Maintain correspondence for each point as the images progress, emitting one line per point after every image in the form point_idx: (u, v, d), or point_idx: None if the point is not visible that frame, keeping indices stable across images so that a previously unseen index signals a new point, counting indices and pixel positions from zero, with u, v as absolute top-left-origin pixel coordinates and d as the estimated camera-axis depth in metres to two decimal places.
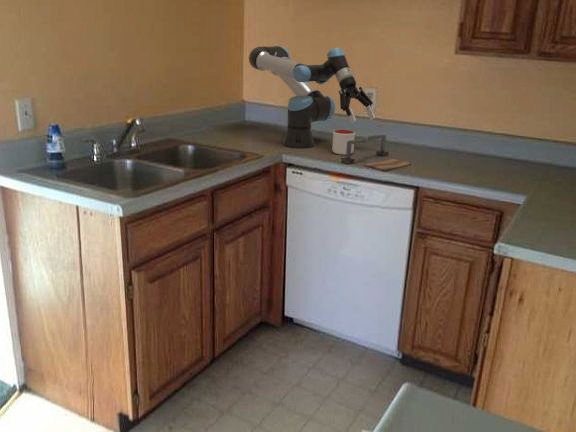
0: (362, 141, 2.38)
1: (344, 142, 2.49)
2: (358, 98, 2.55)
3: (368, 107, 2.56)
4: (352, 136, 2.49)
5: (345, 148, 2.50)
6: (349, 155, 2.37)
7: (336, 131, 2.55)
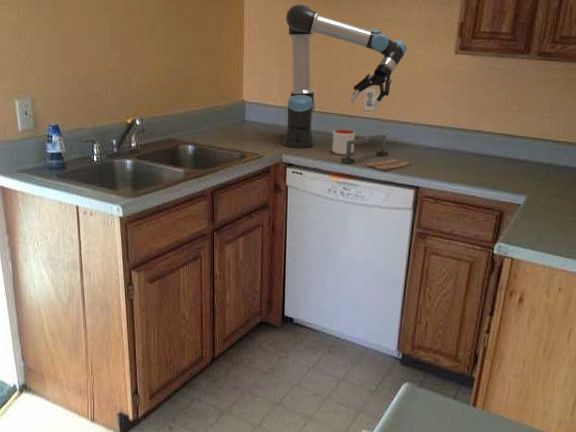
0: (362, 141, 2.38)
1: (344, 142, 2.49)
2: (368, 84, 2.59)
3: (358, 93, 2.61)
4: (352, 136, 2.49)
5: (345, 148, 2.50)
6: (349, 155, 2.37)
7: (336, 131, 2.55)
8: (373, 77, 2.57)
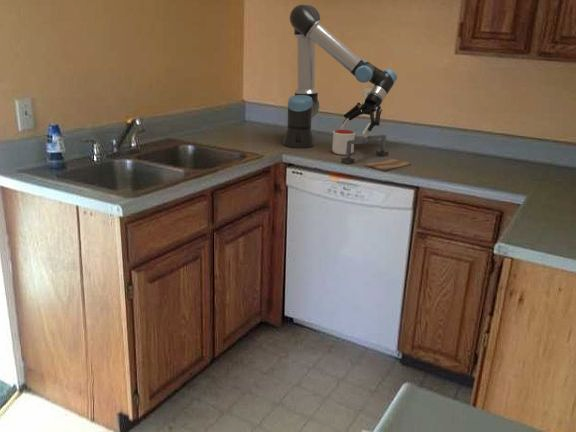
0: (362, 141, 2.38)
1: (344, 142, 2.49)
2: (358, 112, 2.59)
3: (349, 122, 2.60)
4: (352, 136, 2.49)
5: (345, 148, 2.50)
6: (349, 155, 2.37)
7: (336, 131, 2.55)
8: (363, 106, 2.57)
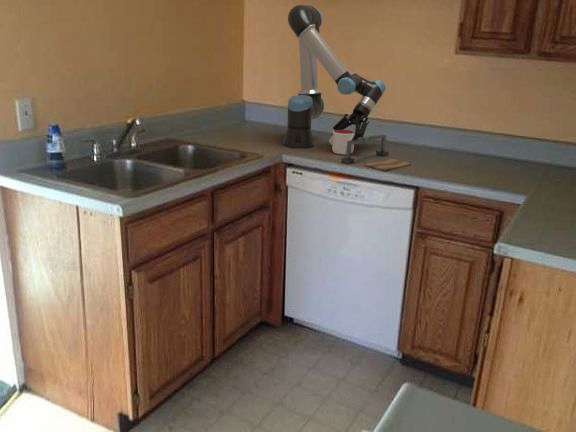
0: (362, 141, 2.38)
1: (344, 142, 2.49)
2: (347, 123, 2.56)
3: None
4: None
5: (345, 148, 2.50)
6: (349, 155, 2.37)
7: (336, 131, 2.55)
8: (352, 116, 2.55)
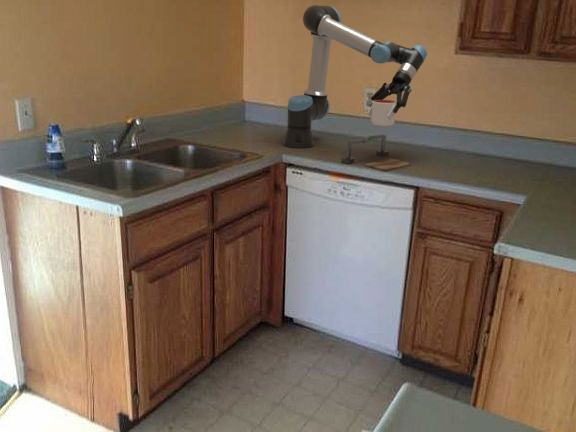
0: (362, 141, 2.38)
1: (385, 112, 2.29)
2: (387, 93, 2.37)
3: None
4: None
5: (386, 119, 2.30)
6: (349, 155, 2.37)
7: (375, 101, 2.36)
8: (391, 85, 2.35)
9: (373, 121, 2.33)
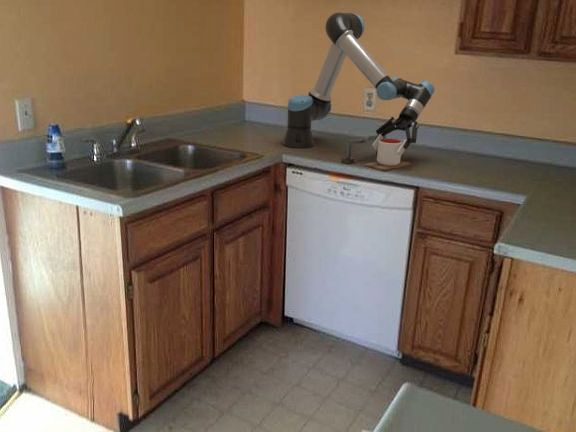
0: (362, 141, 2.38)
1: (391, 152, 2.29)
2: (392, 128, 2.37)
3: (381, 138, 2.38)
4: None
5: (392, 159, 2.30)
6: (349, 155, 2.37)
7: (381, 140, 2.36)
8: (398, 121, 2.35)
9: (379, 160, 2.33)
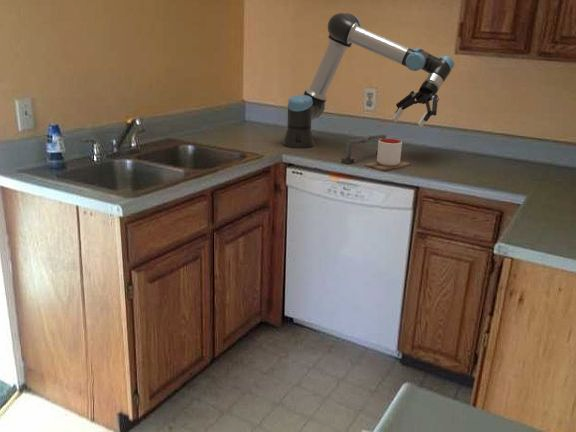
0: (362, 141, 2.38)
1: (391, 153, 2.29)
2: (412, 101, 2.42)
3: (401, 111, 2.43)
4: (399, 146, 2.30)
5: (392, 159, 2.30)
6: (349, 155, 2.37)
7: (381, 140, 2.36)
8: (418, 94, 2.40)
9: (379, 160, 2.33)
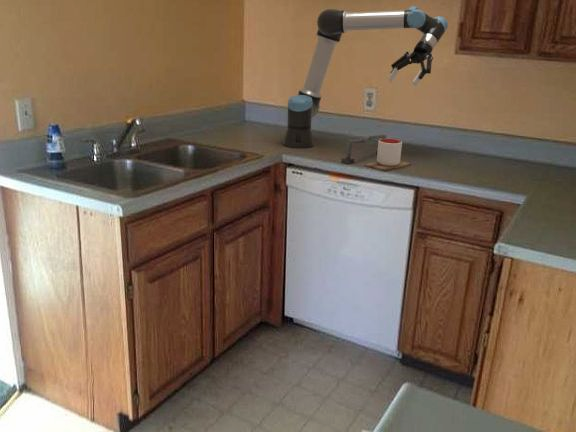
0: (362, 141, 2.38)
1: (391, 153, 2.29)
2: (407, 61, 2.46)
3: (397, 71, 2.48)
4: (399, 146, 2.30)
5: (392, 159, 2.30)
6: (349, 155, 2.37)
7: (381, 140, 2.36)
8: (413, 54, 2.44)
9: (379, 160, 2.33)
